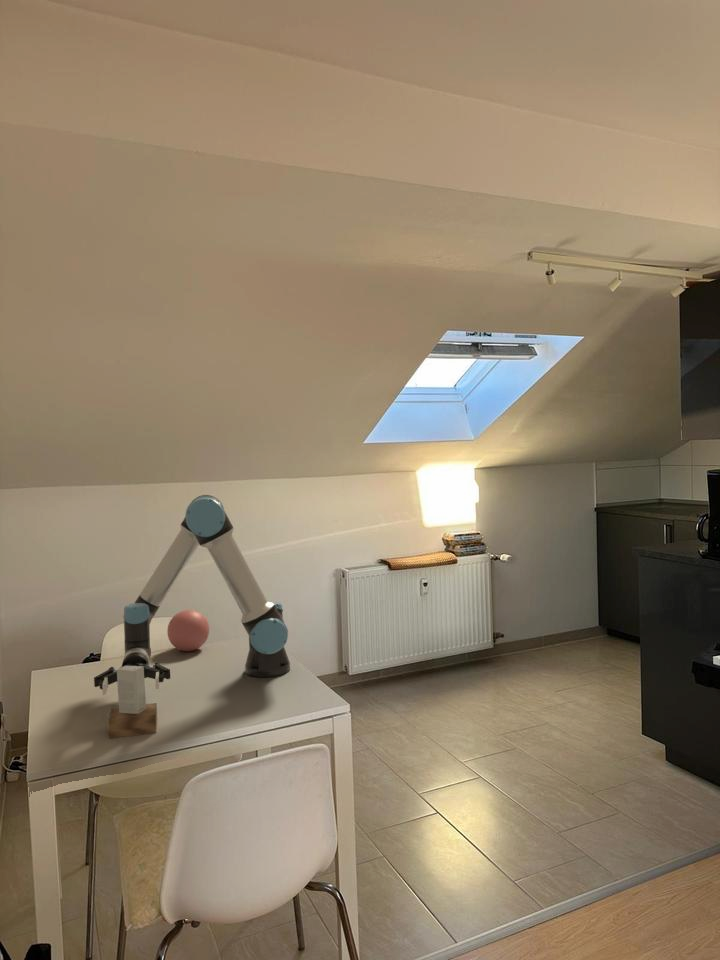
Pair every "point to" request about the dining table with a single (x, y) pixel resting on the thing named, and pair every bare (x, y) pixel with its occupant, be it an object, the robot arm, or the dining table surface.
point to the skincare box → (131, 689)
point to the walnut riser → (133, 722)
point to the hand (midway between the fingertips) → (130, 686)
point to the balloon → (188, 630)
